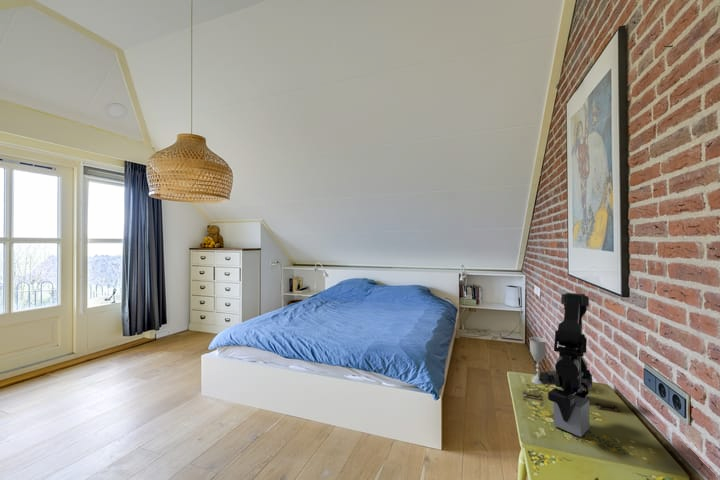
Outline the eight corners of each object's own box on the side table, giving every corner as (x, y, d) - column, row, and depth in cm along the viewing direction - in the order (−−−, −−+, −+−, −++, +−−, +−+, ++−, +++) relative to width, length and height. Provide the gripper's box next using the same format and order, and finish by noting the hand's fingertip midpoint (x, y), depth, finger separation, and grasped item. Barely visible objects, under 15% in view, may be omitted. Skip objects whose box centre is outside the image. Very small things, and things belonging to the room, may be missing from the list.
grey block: (563, 417, 104) (563, 391, 104) (589, 428, 98) (589, 400, 98) (553, 425, 100) (553, 398, 100) (580, 437, 94) (580, 407, 94)
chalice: (550, 386, 127) (550, 342, 127) (532, 385, 129) (531, 341, 129) (543, 378, 135) (543, 337, 135) (526, 377, 136) (526, 336, 136)
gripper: (554, 354, 111) (555, 397, 111) (529, 367, 100) (530, 416, 100) (591, 363, 102) (592, 411, 102) (569, 379, 91) (569, 432, 91)
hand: (570, 417), depth 99 cm, fingers closed on grey block, 7 cm apart
